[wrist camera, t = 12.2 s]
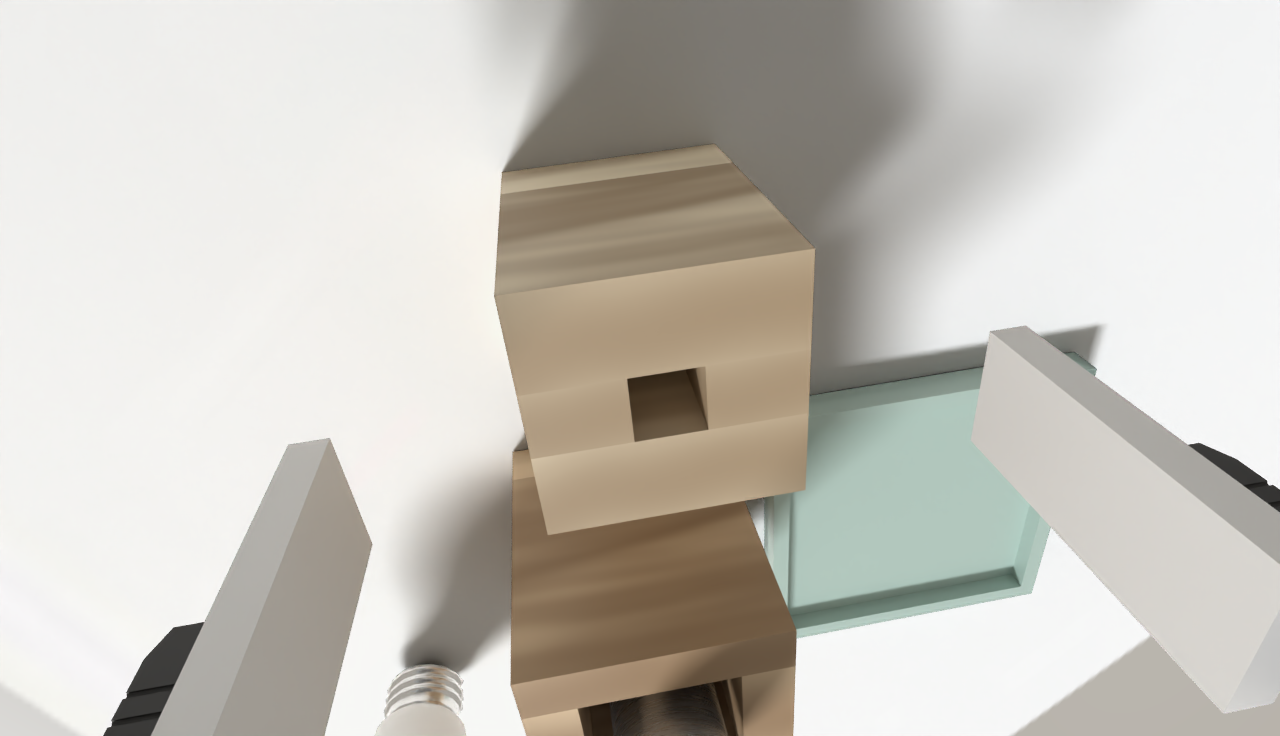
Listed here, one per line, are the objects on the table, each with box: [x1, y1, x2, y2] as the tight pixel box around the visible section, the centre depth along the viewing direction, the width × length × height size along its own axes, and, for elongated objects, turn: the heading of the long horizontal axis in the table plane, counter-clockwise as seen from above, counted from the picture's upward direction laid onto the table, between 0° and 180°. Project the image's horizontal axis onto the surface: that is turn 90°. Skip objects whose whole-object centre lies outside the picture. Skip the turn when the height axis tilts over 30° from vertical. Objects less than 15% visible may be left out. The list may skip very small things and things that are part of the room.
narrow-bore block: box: [494, 144, 815, 535], centre depth 18 cm, size 6×6×8 cm
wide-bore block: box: [511, 449, 797, 736], centre depth 23 cm, size 7×7×9 cm
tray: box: [764, 352, 1097, 638], centre depth 28 cm, size 12×12×1 cm
